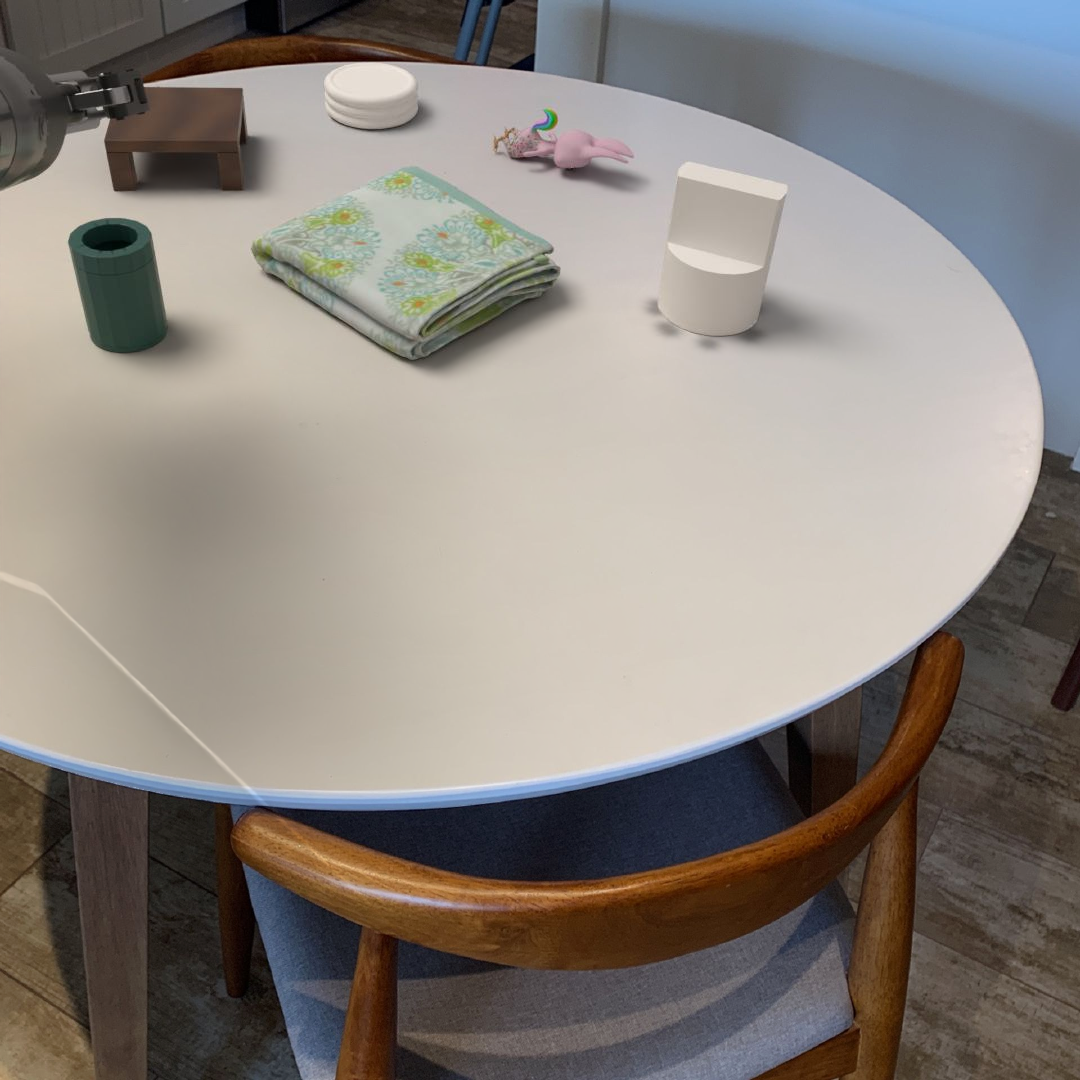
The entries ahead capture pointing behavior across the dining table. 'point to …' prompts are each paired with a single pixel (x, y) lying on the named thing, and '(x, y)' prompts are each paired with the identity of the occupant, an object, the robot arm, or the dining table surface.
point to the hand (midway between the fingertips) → (53, 103)
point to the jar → (119, 284)
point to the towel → (408, 261)
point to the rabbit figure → (561, 144)
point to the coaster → (371, 95)
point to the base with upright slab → (719, 249)
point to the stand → (181, 131)
